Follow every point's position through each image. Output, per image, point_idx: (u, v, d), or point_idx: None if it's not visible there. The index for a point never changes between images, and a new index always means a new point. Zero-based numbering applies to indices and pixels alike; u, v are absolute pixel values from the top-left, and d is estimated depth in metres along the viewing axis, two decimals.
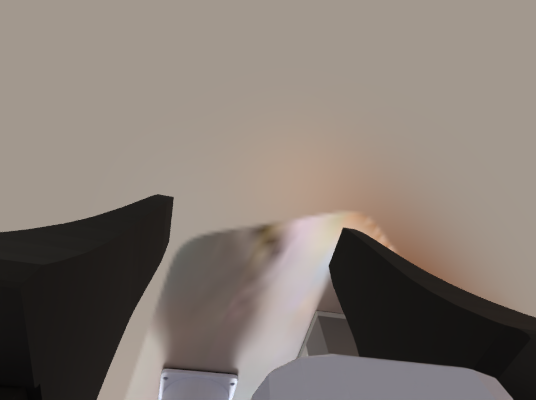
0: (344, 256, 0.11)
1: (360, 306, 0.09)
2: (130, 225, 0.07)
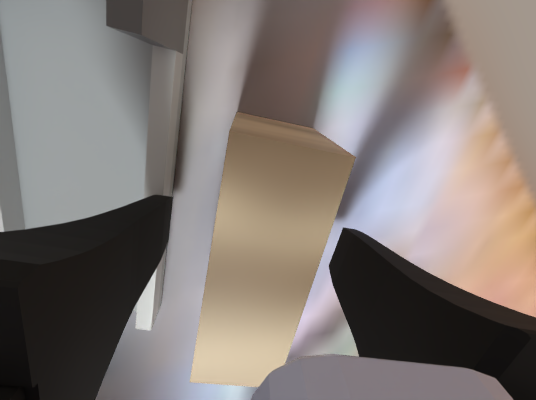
0: (344, 256, 0.11)
1: (360, 306, 0.09)
2: (129, 225, 0.07)
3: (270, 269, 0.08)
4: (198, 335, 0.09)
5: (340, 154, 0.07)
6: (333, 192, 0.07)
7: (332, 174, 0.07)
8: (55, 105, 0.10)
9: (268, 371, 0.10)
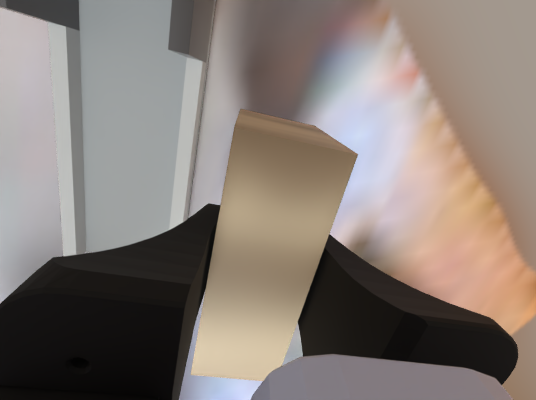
0: None
1: (306, 299, 0.09)
2: (207, 237, 0.07)
3: (272, 264, 0.08)
4: (200, 328, 0.09)
5: (342, 151, 0.07)
6: (335, 188, 0.07)
7: (334, 170, 0.07)
8: (113, 99, 0.13)
9: (268, 365, 0.10)
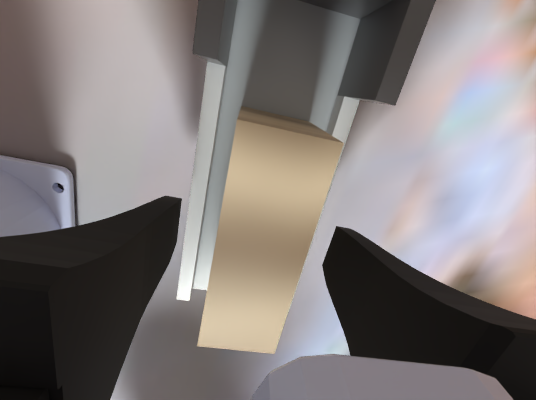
0: (337, 255, 0.11)
1: (352, 305, 0.09)
2: (143, 227, 0.07)
3: (270, 242, 0.09)
4: (206, 301, 0.10)
5: (331, 140, 0.08)
6: (325, 173, 0.08)
7: (324, 157, 0.08)
8: None
9: (267, 337, 0.11)
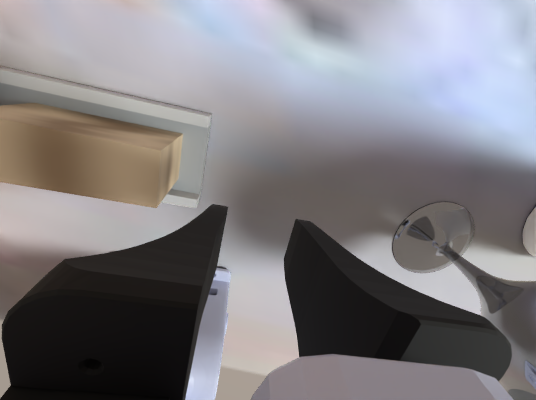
0: (294, 248, 0.11)
1: (302, 298, 0.09)
2: (213, 238, 0.07)
3: (47, 156, 0.13)
4: (110, 199, 0.14)
5: None
6: None
7: None
8: None
9: (142, 156, 0.14)
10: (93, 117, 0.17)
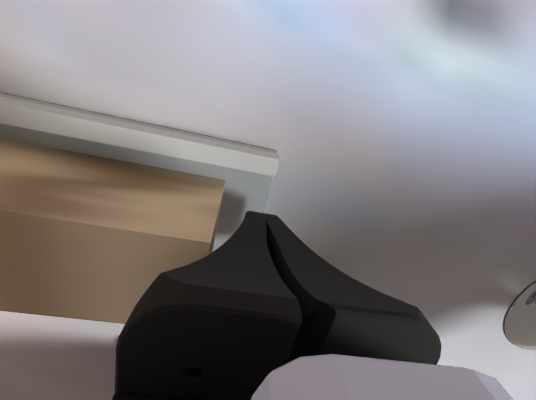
0: None
1: None
2: (266, 247, 0.07)
3: None
4: (115, 321, 0.08)
5: None
6: None
7: None
8: None
9: (174, 253, 0.07)
10: (85, 160, 0.10)
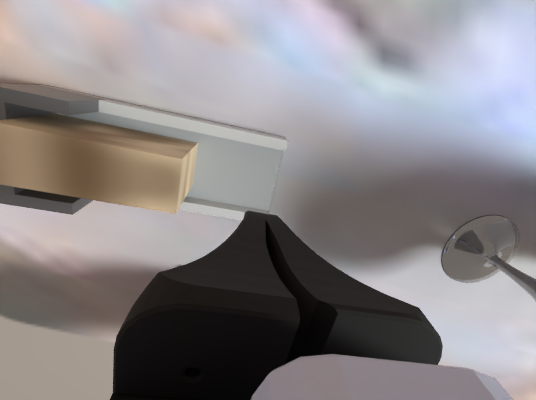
0: None
1: None
2: (265, 247, 0.07)
3: (74, 164, 0.14)
4: (132, 205, 0.15)
5: None
6: (13, 131, 0.13)
7: (2, 133, 0.13)
8: None
9: (164, 164, 0.14)
10: (113, 127, 0.17)
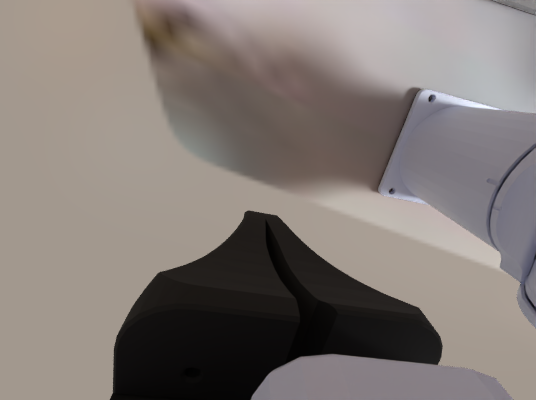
0: None
1: None
2: (265, 247, 0.07)
3: None
4: None
5: None
6: None
7: None
8: None
9: None
10: None
